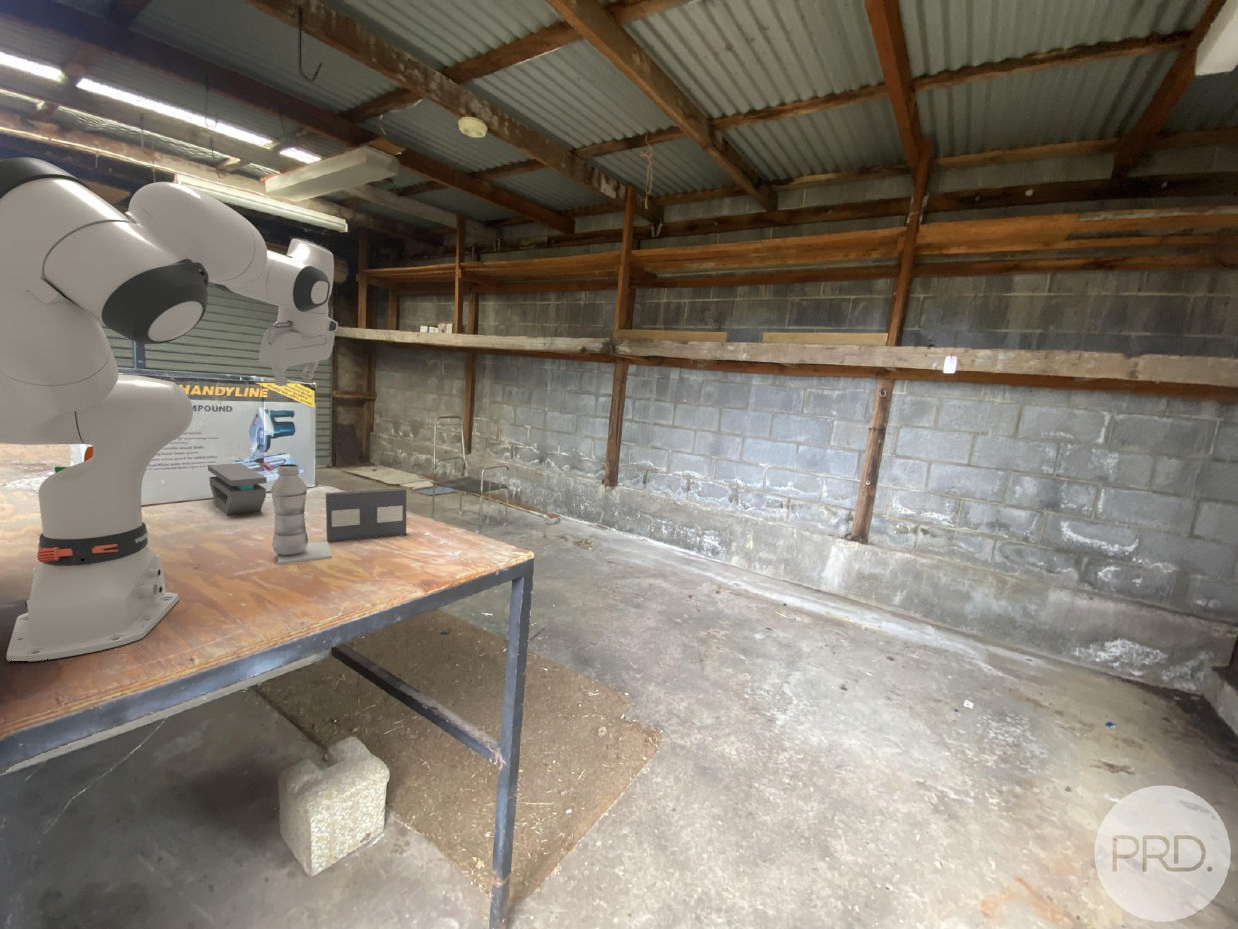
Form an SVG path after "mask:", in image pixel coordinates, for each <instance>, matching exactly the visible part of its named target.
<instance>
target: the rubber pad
mask: <svg viewBox="0 0 1238 929" xmlns="http://www.w3.org/2000/svg"><path fill="white" fill-rule="evenodd" d="M329 559H333V554H332V551H331V548H330V544H329V543H328V541H327V540H326V541H316V542H308V545H307V548H306V549H305V551H304V552H302V553H299V554H294V555H279V554H277V564H278V565H279V566H280V565H288V564H297V563H304V562H305V563H307V562H313V561H320V560H321V561H322V560H329Z"/></svg>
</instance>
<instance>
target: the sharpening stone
mask: <svg viewBox="0 0 1238 929" xmlns="http://www.w3.org/2000/svg"><path fill="white" fill-rule="evenodd" d="M207 471H208V472H210V473H211V474H212V475H214V476H209V485H210V490H211V493H212V496H213V500H214V504H215V507H216V508H217V509H219V510H220V511H221V512H223V514H225V515H227V516H228V515H229V516H230V515H235V514H245V513H252V512H260V511H261V510H262V507H263V505H264V504H265V500H266V498H267V497H266V496H267V492H266V490H267V489H266V487H264V486H262V485H260V484H267V483H268V482H267V480H268V479H267V477H266V476H264V475H263V474H260V473H259V472H258V471H255V470H253V469H252V468H250V467H248V466H246V465H244V464H243V463H239V462H238V463H225V464H224V463H223V464H209V465H208V464H207Z"/></svg>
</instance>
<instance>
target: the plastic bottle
mask: <svg viewBox="0 0 1238 929" xmlns="http://www.w3.org/2000/svg"><path fill="white" fill-rule="evenodd" d="M298 474H300V470H299V464H296V463H293V464H292V463H284V464H283V463H282V464H277V475H279V476H278V478H277V479H276V480H275V481H274V483H273V484H272V486H271V489H270V495H271V499H272V503H273V509H274V531H273V533H274V534H273V536H272V542H271V546H272V549H273V552H275V554H276V555H278V554H279V555H294V554H299V553H302V552H304V551H305V549H306V548H307V545H308V543H309V536H308V533H307V530H306V521H305V507H306V499H307V493H308V487H307V485H306V483H305V482H304V480H303V479H302V478H300V476H299V475H298Z"/></svg>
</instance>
